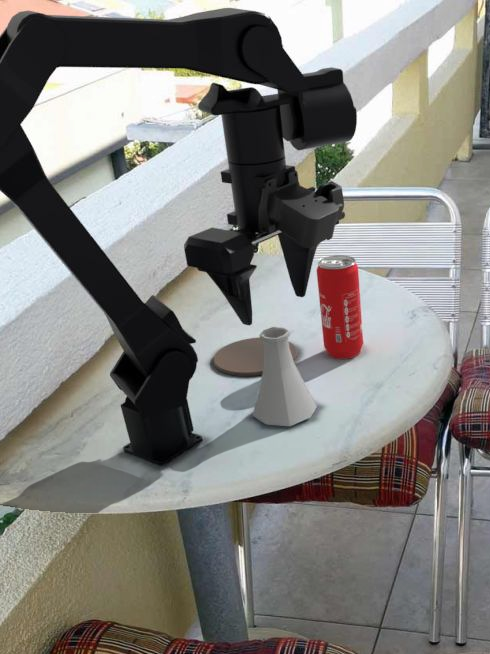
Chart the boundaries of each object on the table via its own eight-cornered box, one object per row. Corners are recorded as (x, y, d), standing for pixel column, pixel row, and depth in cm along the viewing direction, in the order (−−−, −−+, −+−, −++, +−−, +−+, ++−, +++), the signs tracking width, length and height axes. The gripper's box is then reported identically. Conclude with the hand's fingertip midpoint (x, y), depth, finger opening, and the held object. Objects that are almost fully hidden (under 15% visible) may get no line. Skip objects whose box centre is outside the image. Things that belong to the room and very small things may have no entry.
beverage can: (359, 361, 111) (352, 269, 103) (320, 359, 112) (311, 268, 104) (367, 344, 115) (361, 254, 107) (329, 343, 116) (321, 254, 108)
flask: (328, 406, 101) (320, 325, 95) (291, 433, 97) (280, 350, 91) (279, 394, 105) (268, 315, 99) (242, 419, 100) (228, 339, 94)
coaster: (259, 383, 107) (258, 379, 107) (196, 365, 113) (196, 361, 112) (313, 350, 114) (313, 346, 114) (252, 334, 120) (251, 331, 119)
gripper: (256, 190, 75) (277, 356, 85) (375, 144, 87) (382, 294, 97) (167, 177, 81) (196, 334, 90) (291, 136, 93) (304, 279, 102)
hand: (274, 310), depth 95 cm, fingers open, 9 cm apart
